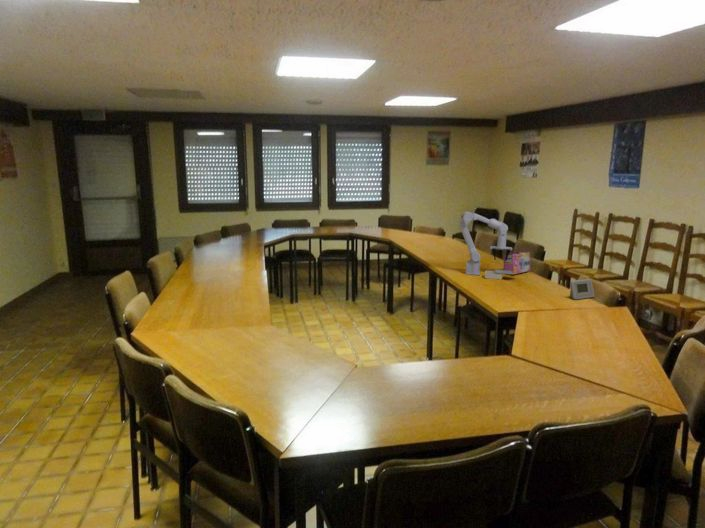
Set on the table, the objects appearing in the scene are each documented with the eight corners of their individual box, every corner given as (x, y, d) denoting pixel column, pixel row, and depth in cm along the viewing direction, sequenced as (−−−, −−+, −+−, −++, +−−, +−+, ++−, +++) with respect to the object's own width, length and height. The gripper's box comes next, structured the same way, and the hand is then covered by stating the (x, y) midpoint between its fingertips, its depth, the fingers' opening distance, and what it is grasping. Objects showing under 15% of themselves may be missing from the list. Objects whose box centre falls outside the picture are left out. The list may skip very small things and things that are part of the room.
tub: (484, 278, 322) (485, 272, 321) (484, 276, 330) (485, 270, 329) (501, 280, 319) (502, 274, 318) (501, 277, 327) (502, 271, 326)
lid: (495, 273, 319) (495, 267, 318) (495, 270, 327) (495, 264, 326) (516, 274, 316) (517, 268, 315) (516, 272, 324) (516, 266, 323)
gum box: (521, 269, 352) (521, 251, 350) (531, 270, 346) (531, 251, 344) (503, 274, 337) (502, 254, 335) (513, 274, 330) (513, 255, 329)
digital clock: (573, 300, 272) (575, 282, 270) (563, 296, 281) (565, 278, 279) (598, 299, 276) (600, 281, 274) (587, 295, 284) (589, 277, 282)
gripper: (490, 240, 328) (489, 260, 331) (513, 242, 324) (511, 261, 327) (490, 239, 334) (489, 258, 337) (512, 240, 331) (511, 259, 333)
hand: (500, 260), depth 332 cm, fingers open, 7 cm apart
